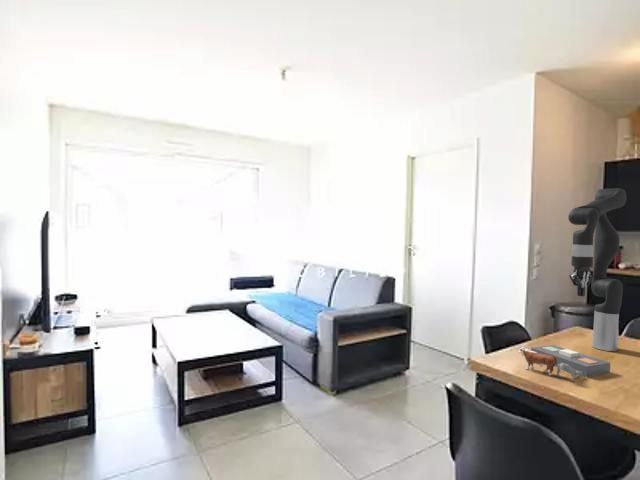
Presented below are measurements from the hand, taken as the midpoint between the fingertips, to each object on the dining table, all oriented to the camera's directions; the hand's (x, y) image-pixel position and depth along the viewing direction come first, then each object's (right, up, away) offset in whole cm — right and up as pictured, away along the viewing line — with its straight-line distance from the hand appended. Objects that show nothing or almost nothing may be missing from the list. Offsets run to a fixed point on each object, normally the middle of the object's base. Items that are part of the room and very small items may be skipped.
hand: (581, 295), depth 160 cm
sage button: (-13, -26, 0) cm, 28 cm away
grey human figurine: (-19, -27, -22) cm, 40 cm away
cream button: (-10, -25, -7) cm, 27 cm away
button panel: (-10, -27, -7) cm, 29 cm away
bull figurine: (-28, -27, -15) cm, 42 cm away
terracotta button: (-7, -26, -14) cm, 30 cm away
